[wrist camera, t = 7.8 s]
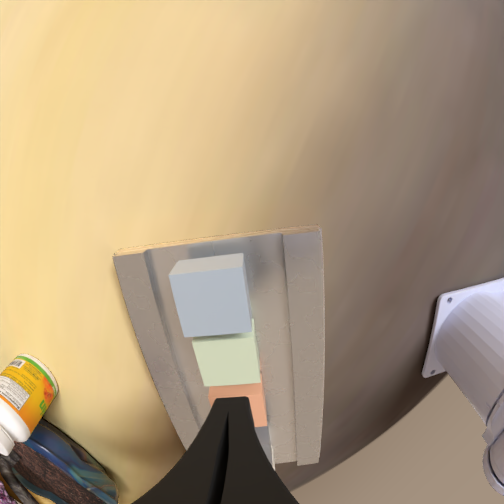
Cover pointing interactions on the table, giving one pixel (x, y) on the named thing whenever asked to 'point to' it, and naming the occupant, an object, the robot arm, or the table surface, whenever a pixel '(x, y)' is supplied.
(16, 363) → the supplement bottle
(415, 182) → the table surface
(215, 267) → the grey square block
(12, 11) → the table surface
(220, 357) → the pale green square block
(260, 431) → the key
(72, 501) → the bonsai tree
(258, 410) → the key
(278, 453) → the base
